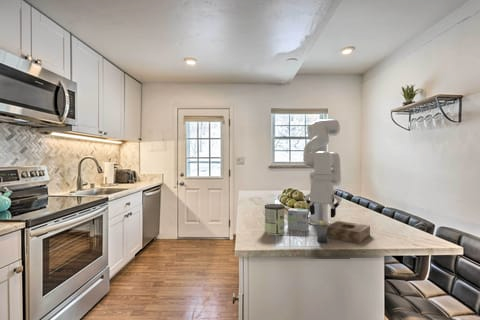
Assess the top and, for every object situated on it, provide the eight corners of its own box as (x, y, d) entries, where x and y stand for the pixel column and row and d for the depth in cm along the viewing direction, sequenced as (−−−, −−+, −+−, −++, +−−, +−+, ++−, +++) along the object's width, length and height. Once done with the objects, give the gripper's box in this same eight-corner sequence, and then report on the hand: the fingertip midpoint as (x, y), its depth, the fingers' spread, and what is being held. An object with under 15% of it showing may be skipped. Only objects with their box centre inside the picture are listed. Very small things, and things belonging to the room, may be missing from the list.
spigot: (315, 241, 122) (315, 222, 122) (319, 239, 125) (319, 220, 125) (325, 243, 119) (325, 223, 119) (329, 241, 122) (328, 221, 122)
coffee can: (268, 229, 144) (268, 203, 144) (286, 231, 140) (286, 204, 140) (261, 234, 135) (261, 206, 135) (281, 236, 130) (281, 207, 130)
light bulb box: (308, 228, 145) (308, 208, 145) (307, 231, 139) (307, 211, 139) (289, 227, 149) (289, 207, 149) (287, 230, 142) (287, 210, 142)
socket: (325, 236, 129) (325, 226, 129) (337, 230, 141) (337, 220, 141) (359, 243, 119) (359, 232, 119) (370, 235, 131) (370, 225, 131)
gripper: (301, 178, 125) (301, 214, 124) (337, 179, 113) (338, 219, 113) (308, 177, 130) (308, 212, 130) (344, 178, 119) (344, 217, 119)
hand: (322, 215), depth 121 cm, fingers open, 9 cm apart
